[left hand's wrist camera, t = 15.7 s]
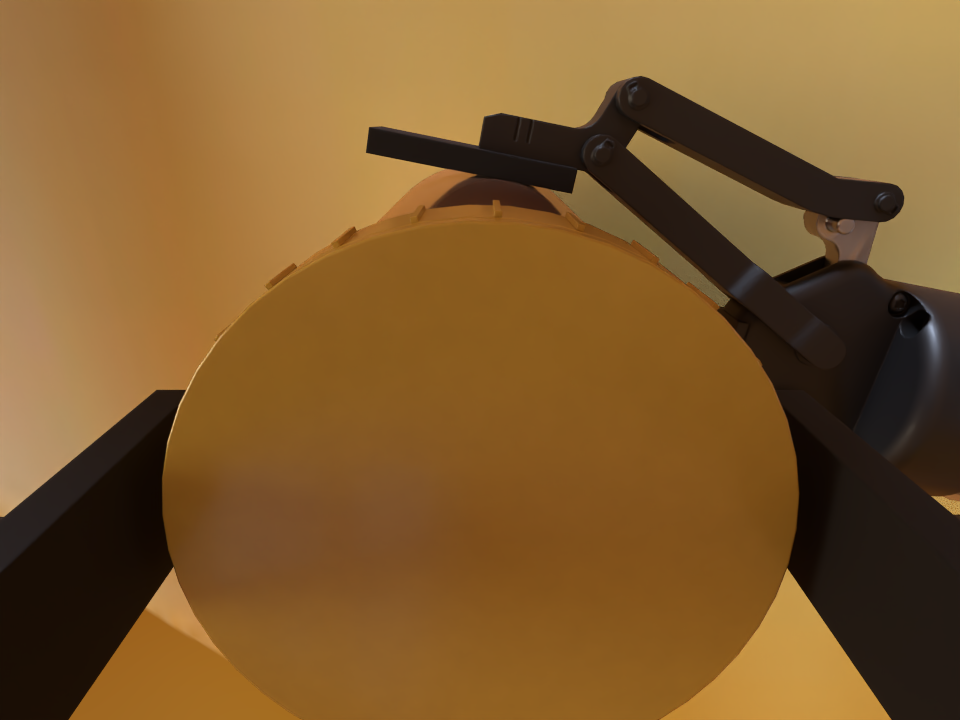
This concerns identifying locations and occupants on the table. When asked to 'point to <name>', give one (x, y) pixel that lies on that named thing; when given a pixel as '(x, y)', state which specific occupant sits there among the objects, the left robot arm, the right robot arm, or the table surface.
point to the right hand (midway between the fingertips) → (355, 287)
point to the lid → (480, 478)
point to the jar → (475, 194)
